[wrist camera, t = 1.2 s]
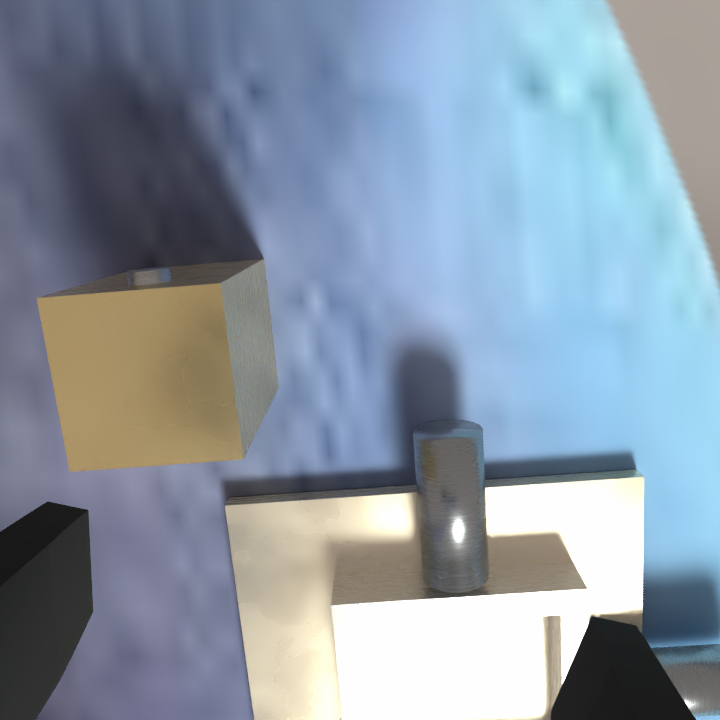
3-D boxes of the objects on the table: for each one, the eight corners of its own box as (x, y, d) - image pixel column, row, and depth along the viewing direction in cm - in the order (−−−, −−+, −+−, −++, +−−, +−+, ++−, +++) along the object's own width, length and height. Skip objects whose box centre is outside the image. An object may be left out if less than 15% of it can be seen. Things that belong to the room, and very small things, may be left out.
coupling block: (153, 406, 22) (72, 483, 16) (130, 259, 21) (33, 283, 15) (279, 397, 22) (244, 471, 16) (262, 248, 20) (218, 268, 15)
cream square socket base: (273, 827, 25) (262, 897, 23) (219, 429, 22) (199, 460, 19) (719, 804, 25) (758, 874, 22) (736, 392, 21) (786, 418, 19)
